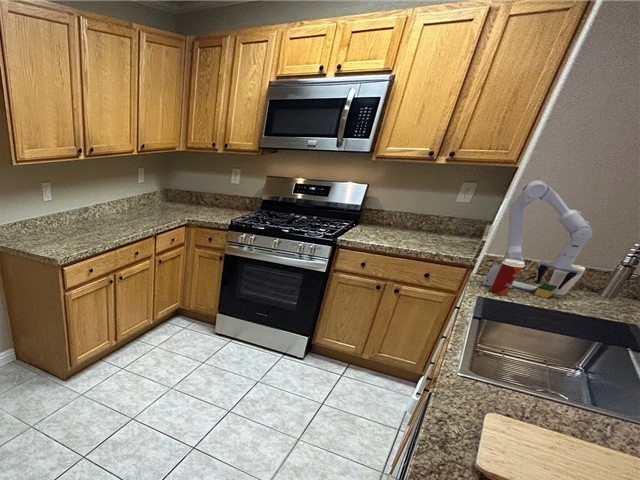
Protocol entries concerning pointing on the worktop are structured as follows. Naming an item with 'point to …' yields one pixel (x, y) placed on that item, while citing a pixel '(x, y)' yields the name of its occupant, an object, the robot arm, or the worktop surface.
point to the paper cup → (506, 276)
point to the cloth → (523, 286)
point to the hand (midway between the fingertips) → (548, 286)
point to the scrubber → (545, 290)
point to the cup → (559, 277)
